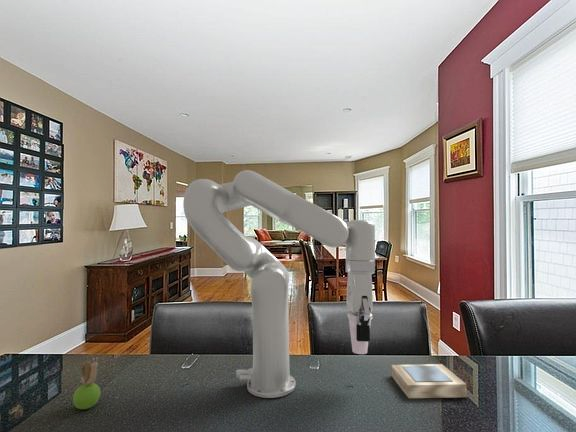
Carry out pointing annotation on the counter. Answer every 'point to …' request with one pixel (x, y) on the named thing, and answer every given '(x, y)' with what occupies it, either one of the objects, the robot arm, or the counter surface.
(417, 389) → the plinth
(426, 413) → the counter surface
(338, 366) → the counter surface
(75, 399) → the snail figurine
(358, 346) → the smoothie
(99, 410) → the counter surface
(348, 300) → the robot arm
